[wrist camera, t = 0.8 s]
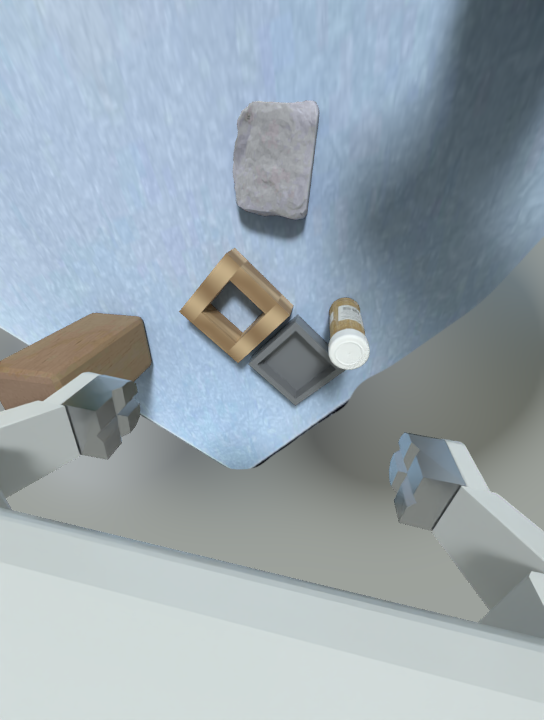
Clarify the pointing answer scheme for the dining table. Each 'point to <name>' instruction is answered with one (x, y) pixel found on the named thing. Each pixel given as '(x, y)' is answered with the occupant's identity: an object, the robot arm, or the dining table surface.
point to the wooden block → (75, 357)
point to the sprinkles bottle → (347, 335)
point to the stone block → (275, 157)
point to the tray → (295, 361)
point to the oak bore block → (254, 288)
